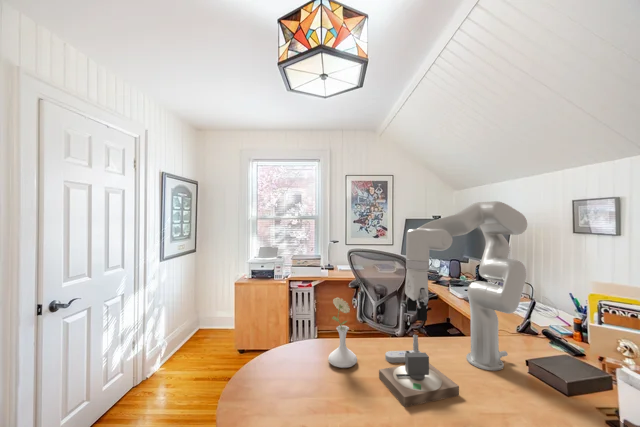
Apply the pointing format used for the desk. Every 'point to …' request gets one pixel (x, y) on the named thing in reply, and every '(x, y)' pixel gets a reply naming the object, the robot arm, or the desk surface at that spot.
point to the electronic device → (402, 353)
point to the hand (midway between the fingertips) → (416, 315)
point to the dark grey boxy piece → (416, 366)
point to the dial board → (418, 386)
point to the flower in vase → (342, 340)
